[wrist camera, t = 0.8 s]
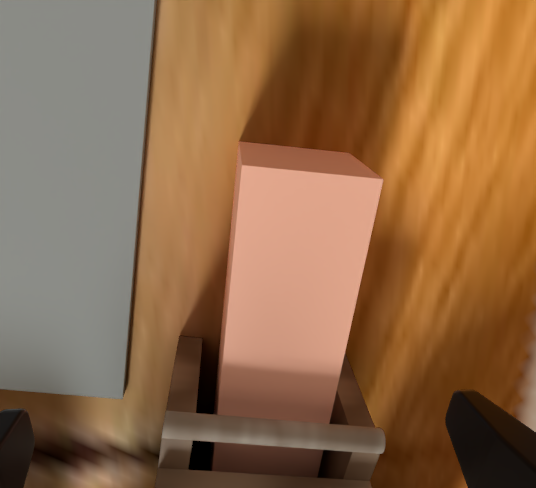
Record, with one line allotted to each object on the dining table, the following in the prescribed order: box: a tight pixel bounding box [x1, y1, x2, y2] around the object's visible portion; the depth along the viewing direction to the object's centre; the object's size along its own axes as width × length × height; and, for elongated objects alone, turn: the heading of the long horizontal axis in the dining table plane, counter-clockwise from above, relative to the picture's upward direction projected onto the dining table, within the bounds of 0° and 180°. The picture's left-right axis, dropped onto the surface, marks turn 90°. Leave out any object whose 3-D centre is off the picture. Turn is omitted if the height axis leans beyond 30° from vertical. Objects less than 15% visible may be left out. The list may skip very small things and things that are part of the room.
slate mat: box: [0, 0, 157, 399], centre depth 19 cm, size 10×21×1 cm, turn 169°
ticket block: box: [210, 141, 383, 478], centre depth 21 cm, size 5×17×5 cm, turn 173°
